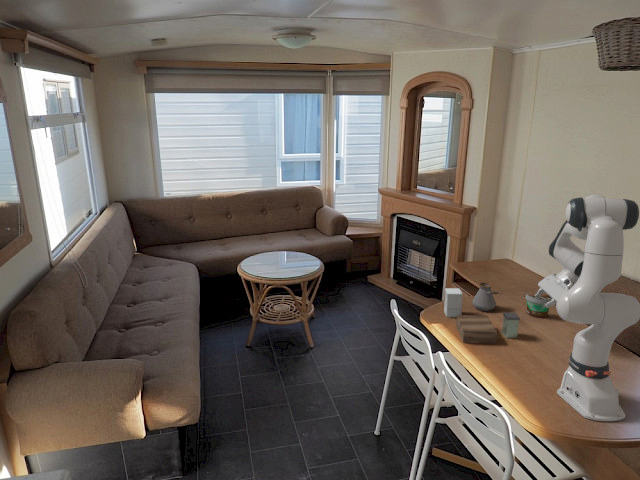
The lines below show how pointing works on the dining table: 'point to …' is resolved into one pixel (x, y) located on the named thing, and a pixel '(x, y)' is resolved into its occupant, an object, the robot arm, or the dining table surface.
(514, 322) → the sage tea tin
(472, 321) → the walnut box
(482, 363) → the dining table surface
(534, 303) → the food container
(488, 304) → the coffee pot
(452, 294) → the supplement box
